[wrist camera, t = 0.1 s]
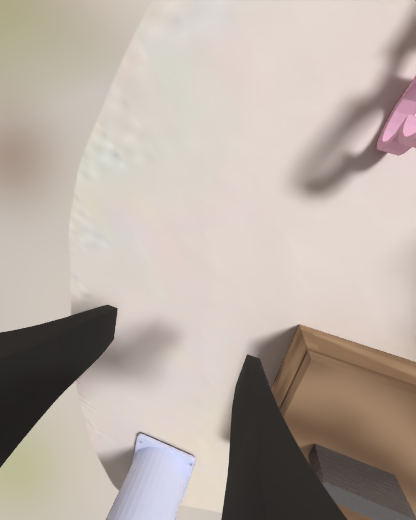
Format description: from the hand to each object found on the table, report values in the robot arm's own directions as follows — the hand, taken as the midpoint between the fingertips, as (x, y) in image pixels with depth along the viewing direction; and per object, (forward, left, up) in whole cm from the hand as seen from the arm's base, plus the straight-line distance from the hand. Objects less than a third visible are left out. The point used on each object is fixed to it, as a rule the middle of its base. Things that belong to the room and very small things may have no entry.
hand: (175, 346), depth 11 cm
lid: (-9, -15, -6) cm, 18 cm away
